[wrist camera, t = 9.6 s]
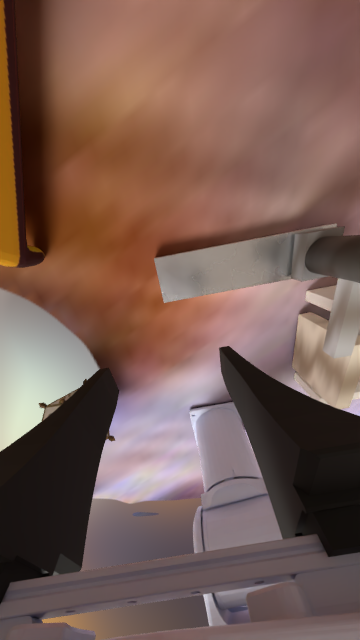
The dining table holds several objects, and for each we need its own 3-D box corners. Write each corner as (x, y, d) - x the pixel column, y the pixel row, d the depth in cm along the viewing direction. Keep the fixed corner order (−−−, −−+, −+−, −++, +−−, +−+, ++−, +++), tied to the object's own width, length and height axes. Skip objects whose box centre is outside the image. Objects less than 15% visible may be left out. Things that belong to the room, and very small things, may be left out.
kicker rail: (318, 270, 19) (327, 272, 17) (164, 299, 19) (164, 302, 18) (326, 224, 17) (337, 223, 16) (155, 257, 17) (154, 258, 16)
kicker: (302, 364, 24) (371, 427, 16) (275, 369, 24) (330, 434, 16) (325, 227, 16) (472, 213, 9) (286, 234, 17) (396, 228, 9)
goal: (356, 367, 25) (409, 403, 19) (293, 378, 25) (328, 416, 20) (388, 275, 19) (474, 289, 14) (306, 290, 19) (360, 309, 14)
